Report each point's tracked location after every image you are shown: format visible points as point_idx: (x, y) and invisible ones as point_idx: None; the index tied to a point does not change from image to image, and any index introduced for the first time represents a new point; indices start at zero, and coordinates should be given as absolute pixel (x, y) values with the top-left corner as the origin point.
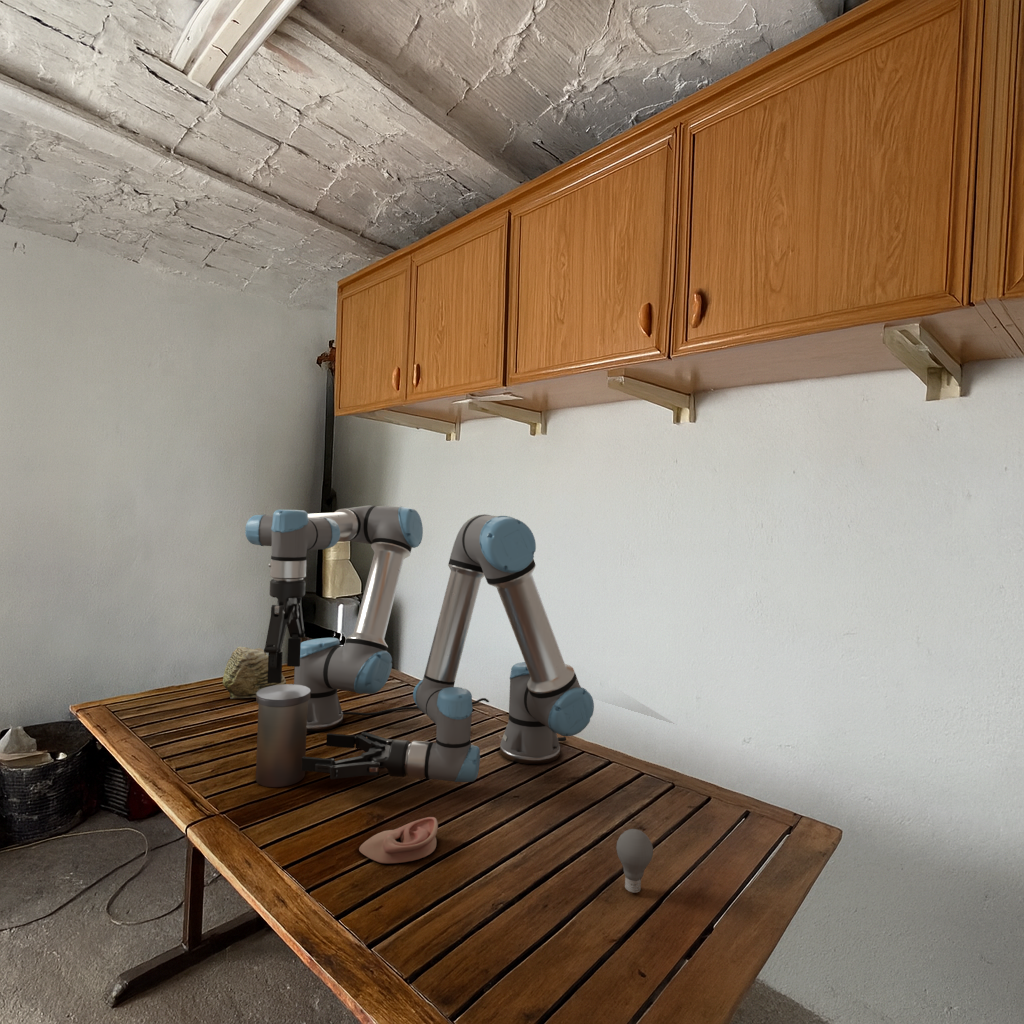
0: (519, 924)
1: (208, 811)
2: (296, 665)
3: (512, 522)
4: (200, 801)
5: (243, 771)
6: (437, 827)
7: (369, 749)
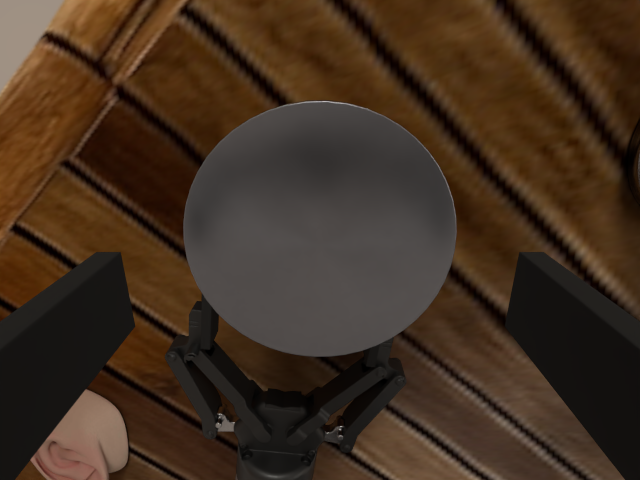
0: None
1: (118, 52)
2: (512, 315)
3: None
4: (161, 4)
5: (348, 49)
6: None
7: (292, 408)
